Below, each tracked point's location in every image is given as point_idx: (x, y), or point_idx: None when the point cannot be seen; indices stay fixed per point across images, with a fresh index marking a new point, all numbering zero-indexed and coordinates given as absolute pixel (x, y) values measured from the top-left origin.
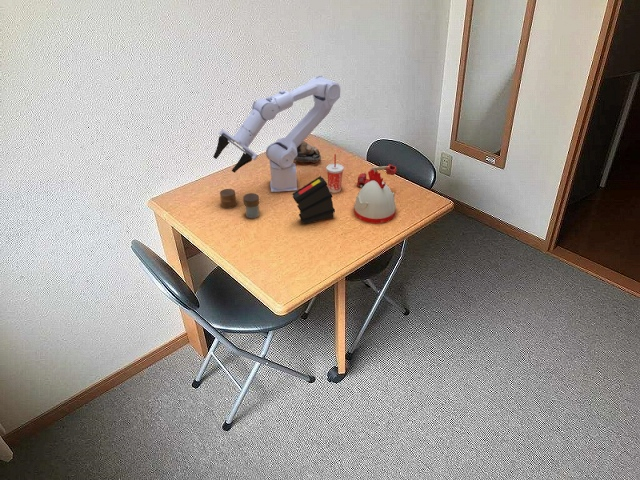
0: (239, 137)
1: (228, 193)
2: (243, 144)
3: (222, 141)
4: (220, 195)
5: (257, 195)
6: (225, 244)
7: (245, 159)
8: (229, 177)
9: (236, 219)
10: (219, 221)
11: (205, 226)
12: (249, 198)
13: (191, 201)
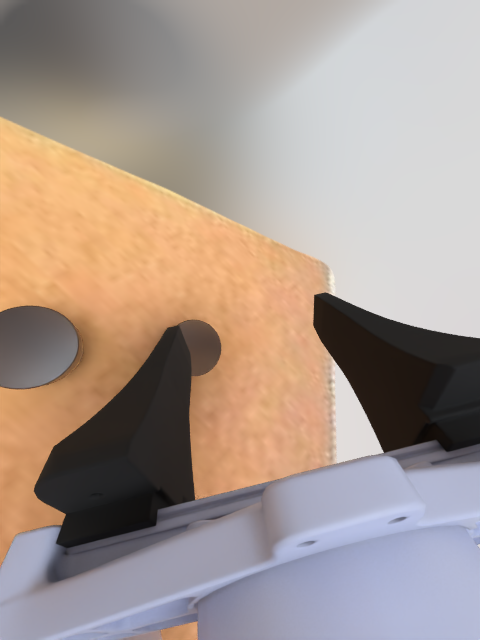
0: None
1: (186, 343)
2: (215, 581)
3: (427, 350)
4: (203, 322)
5: (3, 381)
6: (4, 162)
7: (87, 426)
8: (293, 460)
9: (90, 297)
10: (132, 262)
11: (148, 224)
12: (25, 330)
13: (269, 302)
